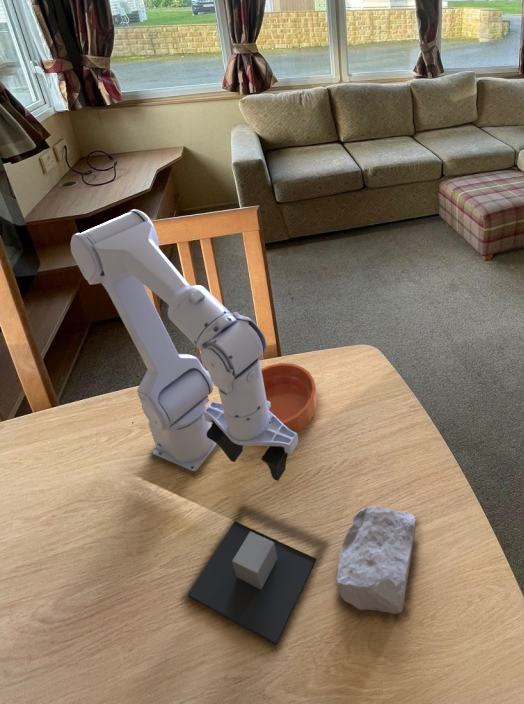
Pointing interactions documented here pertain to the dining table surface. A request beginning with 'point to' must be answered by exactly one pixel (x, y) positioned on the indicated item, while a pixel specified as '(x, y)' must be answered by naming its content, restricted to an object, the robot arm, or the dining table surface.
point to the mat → (247, 600)
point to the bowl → (290, 394)
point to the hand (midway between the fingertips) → (257, 464)
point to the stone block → (376, 559)
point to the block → (255, 560)
